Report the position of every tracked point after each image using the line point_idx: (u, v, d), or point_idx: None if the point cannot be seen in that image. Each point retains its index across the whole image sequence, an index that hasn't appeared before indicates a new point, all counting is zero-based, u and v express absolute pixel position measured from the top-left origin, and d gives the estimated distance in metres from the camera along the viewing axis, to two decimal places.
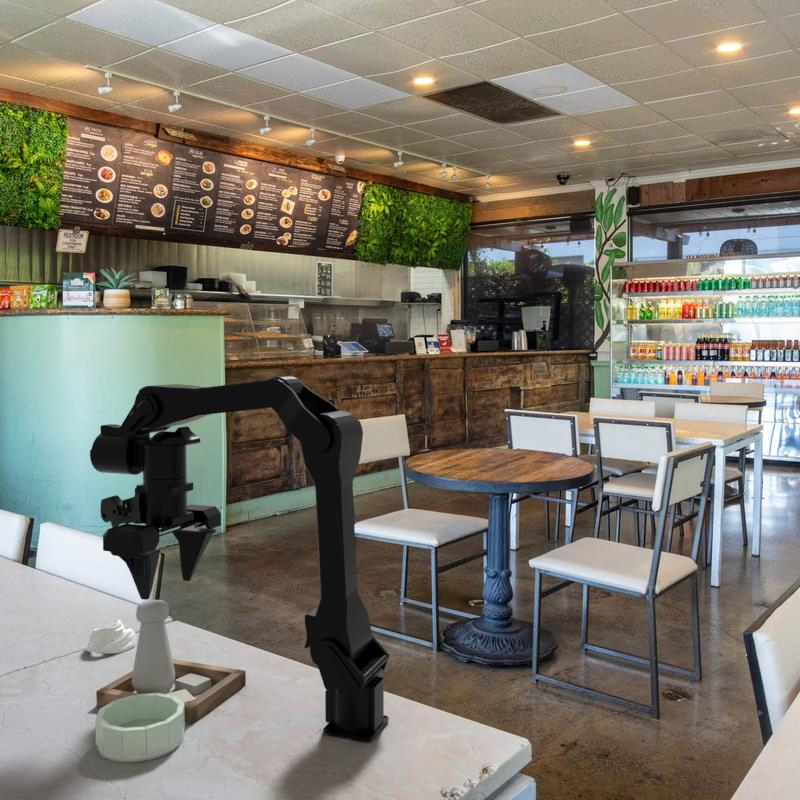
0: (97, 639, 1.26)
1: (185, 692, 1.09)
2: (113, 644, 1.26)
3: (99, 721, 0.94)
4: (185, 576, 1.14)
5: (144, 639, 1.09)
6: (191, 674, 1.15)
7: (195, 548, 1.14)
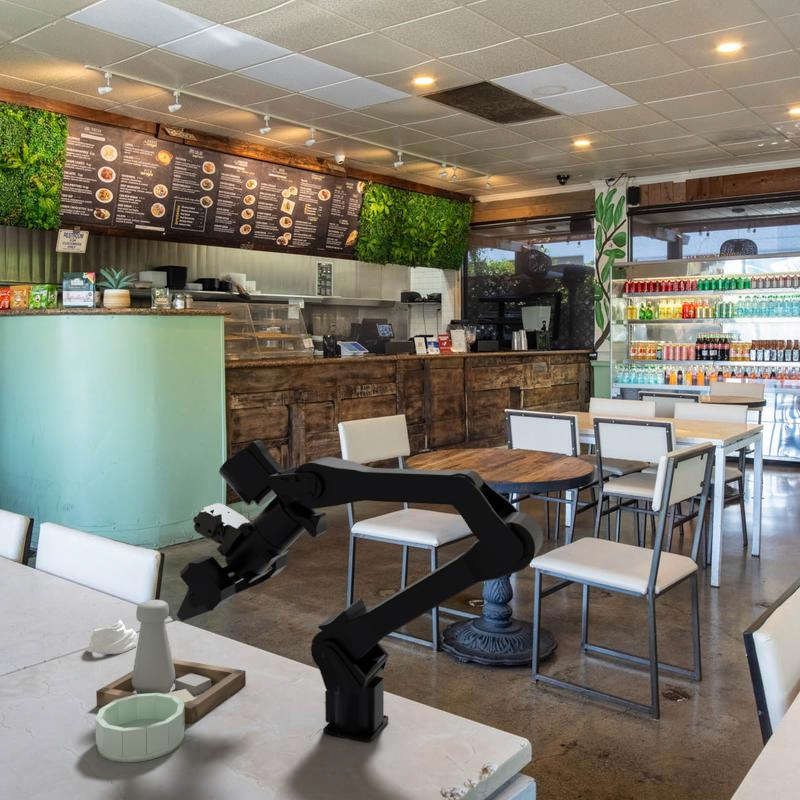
0: (98, 639, 1.25)
1: (185, 692, 1.09)
2: (114, 644, 1.25)
3: (99, 721, 0.94)
4: None
5: (144, 639, 1.09)
6: (191, 674, 1.15)
7: (245, 583, 1.11)
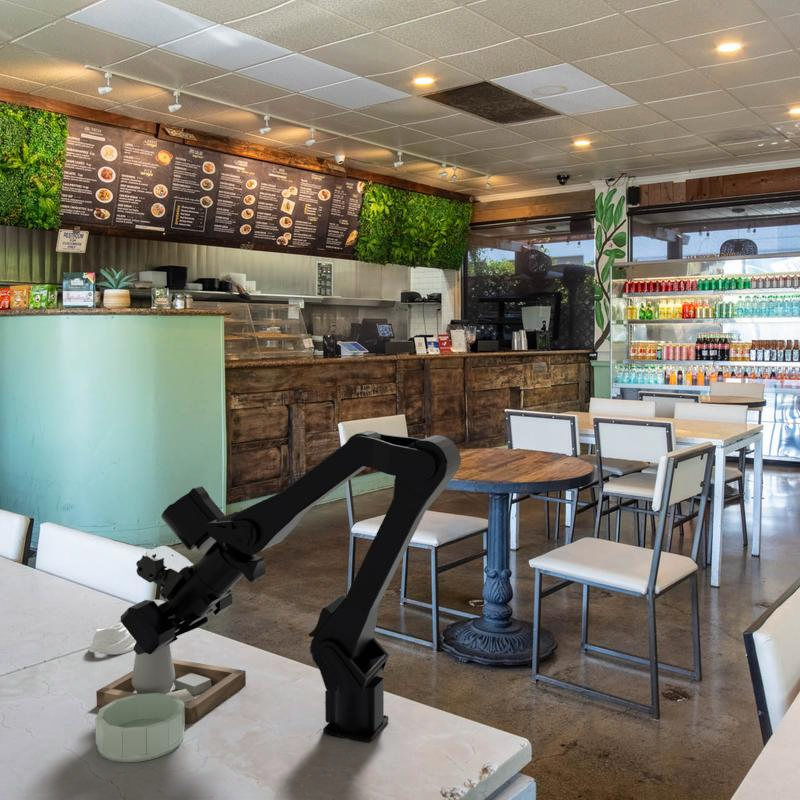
0: (100, 640, 1.25)
1: (185, 692, 1.09)
2: (116, 645, 1.25)
3: (99, 721, 0.94)
4: None
5: None
6: (191, 674, 1.15)
7: (179, 628, 1.11)
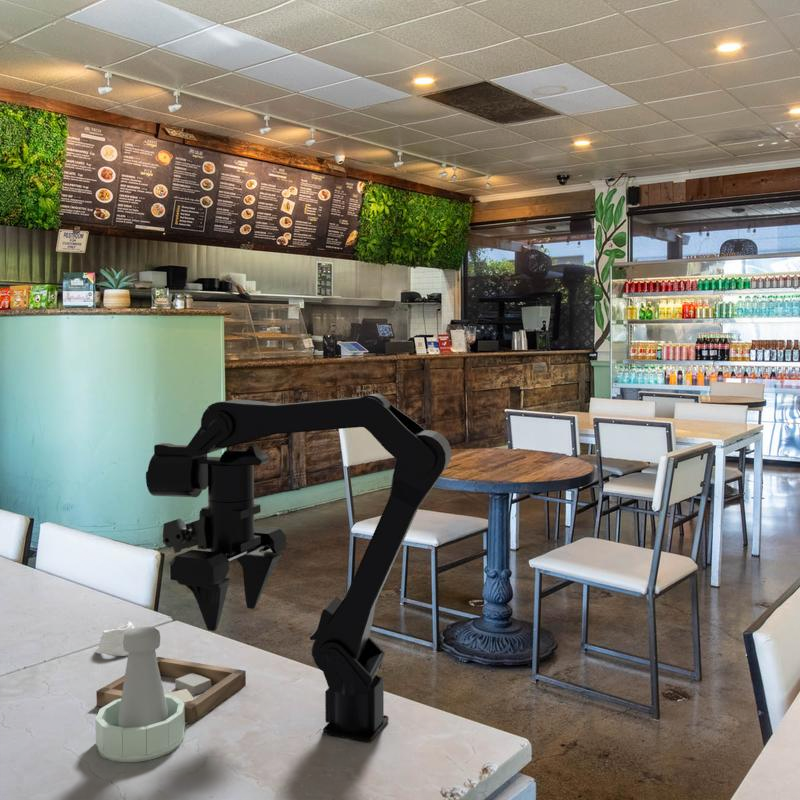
0: (108, 641, 1.25)
1: (186, 692, 1.09)
2: None
3: (99, 721, 0.94)
4: (249, 603, 1.07)
5: (139, 672, 0.95)
6: (192, 674, 1.15)
7: (260, 574, 1.07)
